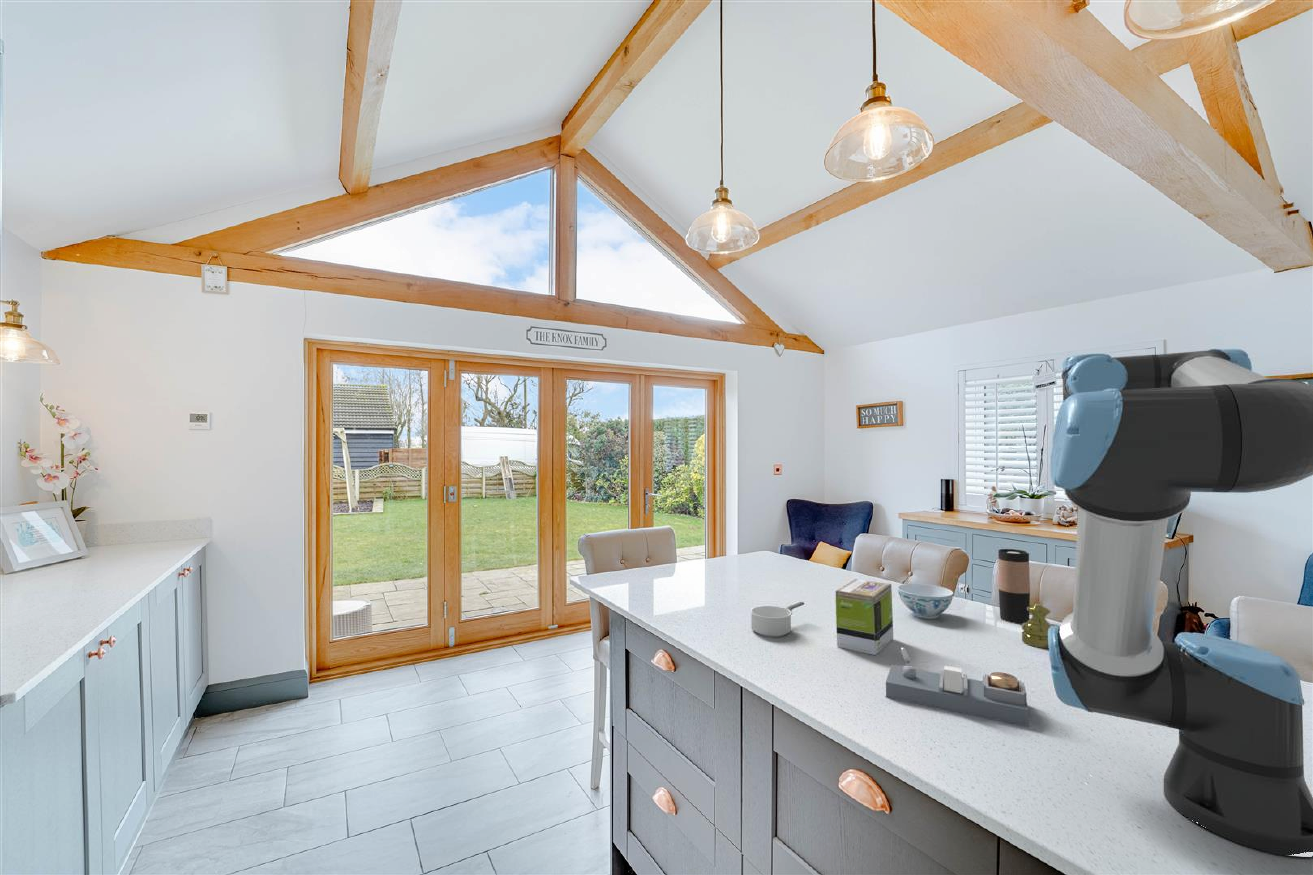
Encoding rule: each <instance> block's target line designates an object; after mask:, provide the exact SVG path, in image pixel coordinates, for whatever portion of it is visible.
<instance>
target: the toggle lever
mask: <svg viewBox="0 0 1313 875" xmlns="http://www.w3.org/2000/svg"><path fill="white" fill-rule="evenodd" d="M900 651H901V654H902V657H903V659H904V663H905V664H906V665H907V664H908V665H909V664H910V663H911V660H910V657H909V655H908V651H907V649H906V648H905V647H901V648H900Z"/></svg>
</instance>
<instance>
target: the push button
mask: <svg viewBox="0 0 1313 875" xmlns="http://www.w3.org/2000/svg"><path fill="white" fill-rule="evenodd" d="M989 675H990V686H991V687H995V688H1000V689H1006V690H1011V691H1016V692H1018V684H1017V680H1018V678H1017V677H1016V676H1015V675H1013V674H1010V673H1008V672H1007V673H1005V672H999V671H995V672H991V673H990V674H989Z"/></svg>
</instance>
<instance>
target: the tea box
mask: <svg viewBox="0 0 1313 875" xmlns="http://www.w3.org/2000/svg"><path fill="white" fill-rule="evenodd" d="M892 593H893V592H892V583H889V582H888V583H887V582H879V581H871V580H863V579H857V578H855V579H853V580H851V581H850V582H848V583H846V584H844V585H842V586H841V587H840V588H838V589H836V590H835V616H836V617H835V619H836V621H835V623H836V624H835V625H836V627H835V628H836V646H837V647H838V648H841V649H844V650H850V651H853V652H858V653H862V654H867V655H872V656H877V654H878V653H879V652H881V651H882V650H883V649H884V648H885V647H886V646H887V645H888V644H889V643H890V642H891V641H892V640H893V639H894V620H893V619H894V617H893V614H894V613H893V596H892V595H893V594H892Z"/></svg>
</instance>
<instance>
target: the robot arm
mask: <svg viewBox="0 0 1313 875" xmlns="http://www.w3.org/2000/svg"><path fill="white" fill-rule="evenodd" d="M1061 379H1062V397H1063V398H1062V401H1063V402H1062V403H1061V404H1060V406H1059V409H1058V413H1057V415H1056V420H1055V424H1054V428H1053V435H1052V447H1051V453H1050V478H1051V482H1052V484H1053V485H1054V486H1055V487H1056V488H1060V489H1063V491H1064V495H1065V496H1066V497H1067V499H1068V501H1069V502H1071V503H1072V505H1073V506H1075V507H1076V516H1077V518H1076V521H1077V524H1076V526H1077V527H1076V547H1075V565H1074V566H1075V568H1074V587H1073V588H1074V591H1073V610H1072V612H1071V613H1069V614H1068V615H1066V616H1065V617H1064V619H1063V620H1062V622H1061V624H1060V625H1052V627H1050V628H1049V629H1048V646H1049V649H1048V655H1049V661H1050V662H1049V663H1050V667H1051V676H1052V682H1053V688H1054V691H1055V695H1056V696H1057V699H1058V700H1060V702H1061V703H1063V704H1064V705H1066V706H1068V707H1073V708H1077V709H1080V710H1084V711H1086V712H1087V713H1092V714H1093V713H1096V714H1102V715H1107V716H1112V717H1117V718H1122V719H1127V720H1131V721H1137V722H1142V723H1146V724H1152V725H1156V726H1162V727H1165V728H1166V727H1167V728H1169V729H1175V730H1178V745H1177V747H1176V749H1175V751H1174V753H1173V756H1172V758H1171V759H1170V762H1169V764H1168V766H1167V769H1166V770H1165V772H1164V775H1163V782H1162V783H1163V795H1164V797H1165V800H1166V801H1167V802H1168V803H1169V805H1170V806H1171V807H1172V808H1173V809H1175V811H1177V812H1178V813H1179V814H1181V815H1182V816H1183V815H1184V817H1185V818H1186V817H1188V818H1189V819H1191V820H1193V821H1194V822H1198V824H1200V825H1202V826H1204V827H1206V828H1207V829H1208V830H1207V829H1206V830H1207V831H1209V830H1211V831H1212V832H1211V831H1210V832H1211V833H1214V834H1216V835H1218V836H1220V837H1222V838H1225V839H1227V840H1229V841H1231V842H1235V843H1237V844H1239V843H1240V845H1243V846H1246V847H1248V848H1252V849H1255V850H1259V851H1262V852H1266V853H1270V854H1274V855H1279V856H1283V855H1292V854H1293V855H1294V854H1300V853H1304V852H1305V853H1306V852H1313V796H1312V793H1311V790H1310V789H1309V787H1308V784H1307V782H1306V780H1305V779H1306V778H1305V773H1304V772H1305V770H1304V769H1305V768H1304V765H1305V764H1304V761H1305V760H1304V758H1305V757H1304V722H1303V717H1304V716H1303V706H1305V703H1306V702H1305V699H1304V697H1303V691H1302V683H1301V678H1300V674H1299V672H1298V670H1297V669H1296V668H1295V667H1294V666H1293V665H1292V664H1291V663H1289V661H1287V660H1285V659H1283V658H1281V657H1279V656H1277V655H1275V654H1273V653H1271V652H1269V651H1266V650H1263V649H1261V648H1258V647H1255V646H1253V645H1249V644H1247V643H1243V642H1239V641H1236V640H1233V639H1230V638H1225V637H1220V636H1216V635H1211V634H1205V633H1200V632H1188V631H1186V632H1185V631H1183V632H1179V633H1178V634H1177V635H1176V637H1175V638H1174V642H1169V641H1168V642H1167V641H1162V640H1161V639H1160V637H1159V636H1158V635H1157V634H1156V632H1155V631H1154V630H1153V626H1154V620H1155V614H1156V607H1157V606H1156V605H1157V600H1158V599H1157V598H1158V592H1159V586H1160V578H1161V573H1162V572H1161V571H1162V564H1163V560H1164V559H1163V558H1164V552H1165V544H1166V537H1167V529H1168V524H1169V519H1173V518H1175V517H1177V516H1178V515H1180V514H1182V513H1183V512H1184V511H1185V510H1186V509H1187V507H1188V506H1189V504H1190V500H1191V496H1192V493H1221V494H1222V493H1224V494H1225V493H1234V494H1237V493H1238V494H1239V493H1241V494H1242V493H1245V494H1246V493H1257V492H1265V491H1269V490H1275V489H1278V488H1283V487H1287V486H1290V485H1293V484H1295V483H1298V482H1301V481H1303V480H1304V479H1307V478H1309V477H1311V476H1313V385H1311V384H1308V383H1305V382H1303V381H1299V380H1295V379H1290V378H1281V377H1279V378H1278V377H1276V378H1275V377H1274V378H1268V377H1266V376H1264V375H1262V374H1260V373H1257V372H1255V371H1253V369H1252V361H1251V358H1250V357H1249V355H1248V353H1247V351H1245V350H1243V349H1239V348H1231V349H1229V348H1228V349H1221V348H1212V349H1208V350H1207V349H1206V350H1199V351H1197V350H1196V351H1187V352H1186V351H1185V352H1174V353H1173V352H1171V353H1162V354H1161V353H1159V354H1144V355H1143V354H1142V355H1129V356H1128V355H1127V356H1116V357H1112V356H1111V355H1109V354H1106V353H1086V354H1078V355H1072V356H1068V357H1066V358H1065V359H1064V360H1063V362H1062V372H1061ZM1188 818H1187V819H1188ZM1189 819H1188V820H1189ZM1191 820H1190V821H1191ZM1193 821H1192V822H1193ZM1194 822H1193V823H1194ZM1198 824H1197V825H1198Z"/></svg>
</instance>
